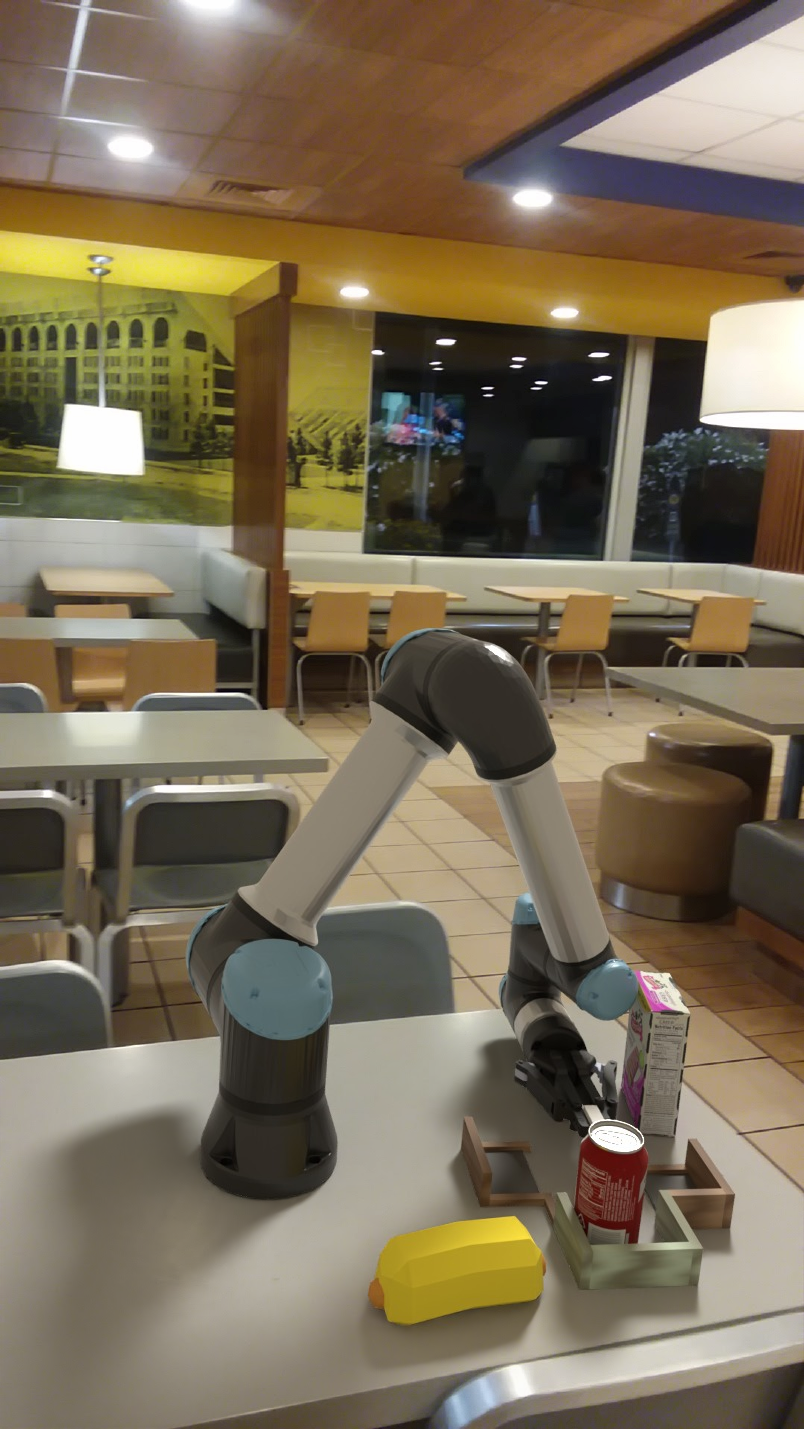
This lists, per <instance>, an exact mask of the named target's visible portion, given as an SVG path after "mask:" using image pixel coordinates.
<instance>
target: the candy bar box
mask: <svg viewBox="0 0 804 1429" xmlns="http://www.w3.org/2000/svg"><path fill="white" fill-rule="evenodd" d="M633 971H634V973H635V974H636V976H637V979H638V994H637V997H636V1000H635V1002H634V1004H633V1005H632V1007H631V1008H630V1009H629V1010H628V1018H627V1020H628V1021H627V1028H626V1029H627V1031H626V1038H625V1050H624V1058H623V1065H622V1066H623V1067H622V1076H621V1083H620V1087H621V1090H622V1093H623V1095H624V1098H625V1101H626V1103H627V1107H628V1109H629V1112H630V1115H631V1117H632V1121H633V1124H634V1127H635V1128H636V1129H637V1130H639V1131H640V1132H641V1134H642V1135H643V1136H651V1137H654V1136H655V1137H668V1138H669V1137H671V1138H674V1137H675V1138H676V1134H677V1128H678V1126H677V1125H678V1117H679V1111H680V1102H681V1095H682V1094H681V1093H682V1086H683V1078H684V1077H683V1076H684V1071H685V1070H684V1069H685V1060H686V1053H687V1045H688V1035H689V1028H690V1021H691V1020H690V1019H691V1014H692V1013H691V1012H690V1010H689V1009H688V1006H687V1004H686V1002H685V1000H684V998H683V996H682V995H681V992H680V991H679V988H678V986H677V985H676V983H675V980H674V979H673V977H672V975H671V973H669V972H656V971H646V970H636V971H635V970H633Z"/></svg>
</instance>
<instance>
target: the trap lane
mask: <svg viewBox="0 0 804 1429" xmlns="http://www.w3.org/2000/svg"><path fill="white" fill-rule="evenodd" d="M460 1149H461V1153H462V1156H463V1160H464V1162H465V1165H466V1168H467V1172H468V1175H469V1178H470V1181H471V1183H472V1187H473V1190H474V1193H475V1196H476V1199H477V1202H478V1205H479V1208H497V1207H498V1208H501V1207H503V1208H505V1207H535V1206H544V1209H545V1211H546V1214H547V1217H548V1218H549V1221H550V1223H551V1226H552V1228H553V1230H554V1233H555V1235H556V1238H557V1240H558V1243H559V1246H560V1247H561V1250H562V1252H563V1255H564V1256H565V1259H566V1261H567V1262H566V1263H567V1264H568V1266H569V1269H570V1272H571V1274H572V1276H573V1278H574V1280H575V1284H576V1285H577V1288H578V1290H583V1291H584V1290H604V1289H606V1290H609V1289H630V1288H634V1289H635V1288H654V1287H655V1288H656V1287H678V1286H679V1287H680V1286H683V1287H684V1286H698V1285H699V1281H700V1275H701V1266H702V1261H703V1255H704V1254H703V1252H704V1248H703V1246H702V1244H701V1243H700V1242H701V1241H699V1239H698V1237H697V1236H696V1234H695V1233H694V1230H713V1229H715V1230H716V1229H717V1230H718V1229H731V1225H732V1218H733V1212H734V1206H735V1205H734V1204H735V1198H736V1193H735V1191H734V1190H733V1189H732V1187H731V1186H730V1184H729V1183H728V1181H727V1180H726V1178H725V1177H724V1176H723V1174H722V1173H721V1172H720V1170H719V1169H718V1167H717V1165H716V1164H715V1163H714V1162H713V1160H712V1159H711V1157H710V1156H709V1154H708V1153H707V1151H706V1150H705V1149H704V1147H703V1146H702V1144H701V1143H700V1142H699V1140H698V1138H688V1139H687V1146H686V1153H685V1160H684V1163H671V1164H670V1163H669V1164H665V1163H664V1164H648V1168H647V1176H646V1183H645V1191H644V1193H645V1195H646V1196H647V1197H648V1199H649V1201H650V1203H651V1204H652V1206H653V1209H654V1210H655V1216H654V1224H653V1225H654V1226H655V1228H656V1229H657V1231H658V1233H659V1235H660V1236H661V1238H662V1241H663V1242H648V1243H647V1242H645V1243H643V1242H641V1243H639V1242H638V1244H609V1245H590V1244H589V1241H588V1239H587V1237H586V1235H585V1233H584V1230H583V1228H582V1226H581V1224H580V1222H579V1219H578V1217H577V1215H576V1213H575V1210H574V1208H573V1204H572V1202H571V1199H570V1197H569V1195H568V1193H567V1192H556V1198H554V1196H553V1193H552V1192H541V1191H540V1190H539V1187H538V1184H537V1181H536V1180H535V1177H534V1175H533V1172H532V1170H531V1168H530V1165H529V1162H528V1161H527V1158H526V1155H525V1154H524V1153H531V1151H532V1145H531V1142H530V1141H529V1140H516V1141H515V1140H513V1141H509V1140H507V1141H502V1140H501V1141H482V1139H481V1137H480V1135H479V1132H478V1129H477V1126H476V1123H475V1121H474V1118H473V1116H463V1122H462V1133H461V1145H460Z"/></svg>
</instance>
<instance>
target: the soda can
mask: <svg viewBox="0 0 804 1429" xmlns="http://www.w3.org/2000/svg"><path fill="white" fill-rule="evenodd" d="M644 1144H645V1138H644V1135H642V1134H641V1132H640V1131H639V1130H637V1129H636V1127H635V1126H633V1125H631V1124H629V1123H627V1122H624V1121H620V1120H617V1119H616V1120H601V1121H597V1122H595V1123H593V1124H592V1125H591V1126H590V1127H589V1130H588V1134H587V1135H586V1136H585V1137H584V1138H582V1140H581V1142H580V1144H579V1145H580V1146H579V1152H578V1153H579V1154H578V1163H577V1170H576V1171H577V1173H576V1180H575V1189H574V1197H573V1204H572V1206H573V1208H574V1210H575V1213H576V1215H577V1217H578V1219H579V1222H580V1224H581V1226H582V1228H583V1230H584V1233H585V1235H586V1237H587V1239H588V1241H589V1244H590V1245H609V1244H639V1238H640V1230H641V1222H642V1221H641V1220H642V1215H643V1206H644V1197H645V1183H646V1176H647V1168H648V1165H649V1158H650V1157H649V1153H648V1151H647V1149H646V1148H645V1145H644Z"/></svg>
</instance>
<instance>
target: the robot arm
mask: <svg viewBox="0 0 804 1429" xmlns="http://www.w3.org/2000/svg"><path fill="white" fill-rule="evenodd" d="M381 666H382V667H381V671H380V676H381V683H380V684H381V686H380V687H379V688H378V689H377V691H376V693H375V694H374V696H373V697H372V699H371V700H370V701H369V703H368V704H369V709H370V716H371V717H370V718H371V721H370V723H369V725H368V726H367V727H366V729H365V730H364V731H363V733H362V734H361V736H360V737H359V739H358V740H357V742H356V743H355V745H354V746H353V748H352V749H351V750H350V752H349V753H348V754H347V756H346V758H345V759H344V761H343V762H342V763H341V765H340V766H339V767H338V768H337V771H335V773H334V775H332V777H331V779H330V780H329V781H328V783H327V784H326V786H325V787H324V789H323V790H322V791H321V793H320V795H319V796H318V797H317V799H316V800H315V802H314V803H313V804H312V806H311V807H310V809H309V810H308V812H307V813H306V814H305V816H304V818H302V821H301V822H300V823H299V825H298V826H297V827H296V828H295V830H294V832H293V833H292V834H291V836H290V837H289V839H288V840H287V841H286V843H285V844H284V846H283V847H282V849H280V852H279V853H278V854H277V856H276V857H275V858H274V860H273V862H272V863H271V864H270V865H269V867H268V869H267V870H266V872H264V874H263V876H262V877H261V878H260V880H259V881H258V882H257V883H255V884H251V885H247V886H246V885H245V886H240V887H239V888H238V889H237V890H236V892H235V894H233V896H232V898H230V900H229V902H228V903H225V904H224V905H221V906H216V907H214V908H212V909H211V910H209V911H208V912H206V914H204V915H203V916H202V917H201V918H200V919H199V920H198V922H197V923H196V924H195V925H194V927H193V928H192V930H191V932H190V935H189V937H188V941H187V944H186V949H185V964H186V968H187V974H188V977H189V979H190V980H189V981H190V984H191V986H192V988H193V990H194V992H195V994H196V995H197V996H198V997H199V998H200V1000H201V1002H202V1004H203V1007H204V1008H205V1009H206V1011H207V1013H208V1015H209V1017H210V1018H211V1020H212V1022H213V1024H214V1026H215V1028H216V1029H217V1032H218V1035H219V1040H220V1042H219V1043H220V1050H219V1051H220V1052H219V1053H220V1054H219V1078H218V1080H219V1082H218V1093H217V1096H216V1098H215V1100H214V1103H213V1106H212V1108H211V1111H210V1113H209V1116H208V1119H207V1120H206V1124H205V1126H204V1129H203V1131H202V1134H201V1138H200V1144H199V1145H200V1149H199V1164H200V1168H201V1170H202V1172H203V1173H204V1175H205V1177H206V1178H207V1179H208V1180H209V1181H210V1182H211V1183H212V1184H214V1185H215V1186H217V1187H218V1188H220V1189H222V1190H224V1192H225V1191H226V1192H228V1193H230V1194H233V1195H237V1196H239V1197H245V1198H249V1199H257V1200H277V1199H286V1198H290V1197H295V1196H299V1195H302V1194H305V1193H307V1192H310V1191H311V1190H313V1189H315V1188H317V1187H319V1186H321V1184H323V1183H324V1182H325V1181H326V1180H328V1179H329V1177H330V1176H331V1175H332V1173H333V1172H334V1171H335V1169H336V1166H337V1159H338V1145H339V1144H338V1143H339V1142H338V1135H337V1134H338V1133H337V1131H336V1128H335V1123H334V1120H333V1117H332V1113H331V1110H330V1106H329V1103H328V1100H327V1096H326V1086H327V1085H326V1084H327V1081H326V1079H327V1071H328V1069H327V1068H328V1057H329V1056H328V1055H329V1040H330V1027H331V1013H332V1007H333V1003H334V1002H333V1000H334V994H333V987H332V975H331V971H330V968H329V966H328V964H327V962H326V961H325V959H324V958H323V957H322V956H321V955H320V953H318V952H317V951H315V948H316V947H317V945H318V943H319V939H318V938H319V937H318V932H317V925H318V922H319V920H320V919H321V917H322V916H323V914H324V913H325V912H326V910H327V909H328V908H329V906H330V905H331V903H332V902H333V900H334V899H335V897H336V896H337V895H338V893H339V891H340V890H341V889H342V887H343V886H344V885H345V883H346V881H347V880H348V878H349V877H350V875H351V874H352V873H353V872H354V870H355V869H356V868H357V866H358V864H359V863H360V861H361V860H362V859H363V857H364V856H365V855H366V853H367V852H368V850H369V848H371V846H372V845H373V843H374V841H375V840H376V839H377V837H378V836H379V834H380V833H381V832H382V830H383V829H384V827H385V825H386V824H387V823H388V821H389V820H390V818H391V817H392V815H393V814H394V813H395V811H396V810H397V809H398V807H399V806H400V804H401V803H402V801H403V800H404V798H405V797H406V796H407V794H408V792H410V789H411V788H412V787H413V785H414V784H415V783H416V781H417V780H418V778H419V777H420V775H421V774H422V773H423V772H424V771H425V770H424V769H425V768H426V767H427V765H428V764H429V763H430V762H433V761H435V760H442V759H447V758H448V757H449V755H450V754H451V753H452V751H453V749H454V748H455V747H456V745H458V743H459V744H460V745H461V746H462V748H464V750H465V752H466V753H467V754H468V756H469V758H470V760H471V762H472V764H473V767H474V770H475V773H476V775H477V778H479V779H480V780H482V781H484V782H487V783H489V786H490V789H491V791H492V794H493V798H494V799H495V803H496V805H497V807H498V810H499V814H500V816H501V819H502V822H503V824H504V827H505V830H506V833H507V835H508V838H509V841H510V844H511V847H512V849H513V852H514V855H515V857H516V860H517V862H518V863H517V864H518V866H519V868H520V872H521V874H522V877H523V880H524V883H525V886H526V887H527V890H528V892H525V893H521V895H518V897H517V898H516V899H515V903H514V909H513V914H512V920H511V922H510V924H511V929H510V930H511V931H510V943H509V944H510V945H509V955H508V956H509V957H508V967H507V968H508V969H507V971H506V973H505V974H504V975H503V977H502V978H501V980H500V982H499V986H498V998H499V1003H500V1006H501V1008H502V1012H503V1014H504V1016H505V1018H507V1021H508V1023H509V1025H510V1027H511V1030H512V1031H513V1033H514V1036H515V1037H516V1039H517V1042H518V1045H519V1046H520V1049H521V1050H522V1052H523V1053H522V1054H523V1055H524V1057H525V1060H526V1061H525V1060H523V1059H517V1060H515V1069H514V1079H513V1081H514V1082H515V1083H517V1084H518V1085H520V1086H521V1087H523V1088H524V1089H526V1090H527V1091H528V1093H529V1094H530V1095H531V1096H532V1097H533V1098H534V1099H535V1101H536V1102H537V1103H538V1104H539V1105H540V1106H541V1107H542V1109H543V1110H544V1111H545V1112H546V1113H547V1114H548V1116H550V1118H551V1119H552V1120H553V1121H554V1122H556V1123H562V1122H564V1120H566V1121H568V1122H569V1127H568V1128H569V1130H570V1131H571V1132H576V1133H577V1135H578V1136H579V1137H580V1139H583V1138H584V1137H585V1136H586V1135H587V1134H588V1130H589V1127H590V1126H591V1125H592V1124H593V1123H595V1122H597V1121H601V1120H616V1121H617V1114H618V1104H619V1097H618V1091H617V1084H616V1083H617V1082H616V1079H617V1070H618V1062H617V1061H615V1060H612V1059H611V1060H607V1062H606V1063H600V1062H597V1059H596V1057H595V1056H594V1055H593V1054H591V1053H590V1052H589V1051H588V1049H587V1046H586V1045H587V1044H586V1043H585V1041H584V1038H583V1037H582V1035H581V1033H580V1032H579V1030H578V1028H577V1027H576V1025H575V1022H574V1021H573V1019H572V1017H571V1016H570V1014H569V1012H568V1011H567V1010H566V1007H565V1006H564V1004H563V1002H562V997H561V996H562V994H563V995H565V996H566V997H567V998H568V999H569V1000H571V1001H572V1002H573V1003H574V1004H575V1005H576V1006H577V1007H578V1008H579V1010H581V1011H584V1012H586V1013H588V1014H589V1015H590V1016H592V1017H593V1018H595V1019H597V1020H600V1021H603V1022H604V1021H605V1022H607V1021H608V1022H610V1021H614V1020H617V1019H619V1018H620V1017H623V1015H625V1014H626V1013H629V1009H630V1008H631V1007H632V1005H633V1004H634V1002H635V1000H636V997H637V994H638V979H637V976H636V974H635V973H634V971H635V970H633V969H632V968H631V967H630V966H629V965H628V963H627V962H626V961H625V960H623V959H621V958H619V957H618V956H617V955H616V951H615V949H614V947H613V944H612V941H611V938H610V935H609V931H608V929H607V925H606V922H605V919H604V916H603V913H602V910H601V908H600V904H599V901H598V898H597V895H596V892H595V890H594V885H593V883H592V880H591V877H590V874H589V870H588V868H587V865H586V862H585V859H584V856H583V853H582V850H581V846H580V844H579V840H578V837H577V834H576V831H575V828H574V824H573V822H572V819H571V816H570V813H569V810H568V807H567V804H566V800H565V797H564V796H563V791H562V788H561V786H560V783H559V780H558V777H557V776H558V775H557V774H556V770H555V768H554V767H555V766H554V764H553V760H554V758H555V757H556V756H557V755H556V754H557V753H558V752H557V751H558V747H557V745H556V742H555V739H554V736H553V732H552V729H551V727H550V723H549V720H548V718H547V715H546V713H545V710H544V707H543V705H542V703H541V700H540V698H539V696H538V694H537V691H536V689H535V687H534V684H533V683H532V681H531V679H530V678H529V675H528V674H527V673H526V670H524V668H523V667H522V665H521V663H519V661H518V660H517V659H516V658H515V657H514V656H513V655H511V654H510V653H509V651H507V650H505V649H504V648H503V647H501V646H499V645H496V644H495V643H492V642H488V641H484V640H480V639H476V638H474V637H470V636H468V635H464V634H461V633H460V632H458V631H455V630H453V629H447V628H431V627H430V628H423V629H422V628H421V629H418V630H414V631H412V632H409V633H408V634H405V635H403V636H402V637H401V638H400V639H398V640H397V641H396V642H395V643H394V644H393V645H392V646H391V648H390V649H389V650H388V652H387V654H386V655H385V657H384V660H383V662H382V665H381ZM594 1074H596V1075H597V1078H598V1079H599V1081H598V1082H599V1083H600V1084H601V1094H600V1093H599V1090H598V1088H597V1087H596V1085H595V1083H594V1082H593V1079H592V1077H593V1075H594Z"/></svg>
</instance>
